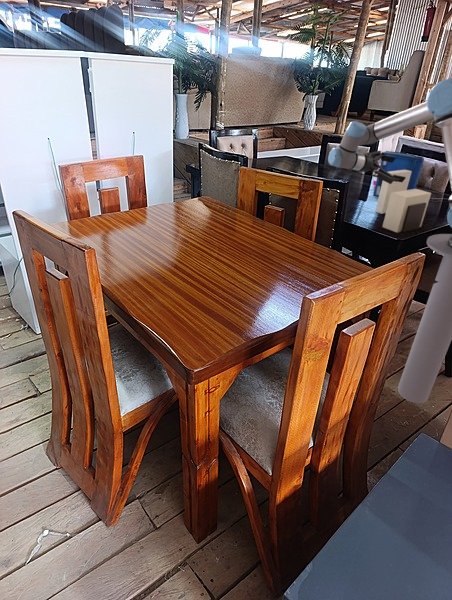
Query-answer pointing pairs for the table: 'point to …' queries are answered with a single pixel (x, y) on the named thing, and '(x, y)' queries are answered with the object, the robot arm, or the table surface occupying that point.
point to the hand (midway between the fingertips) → (398, 169)
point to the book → (401, 168)
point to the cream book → (391, 189)
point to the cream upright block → (406, 210)
